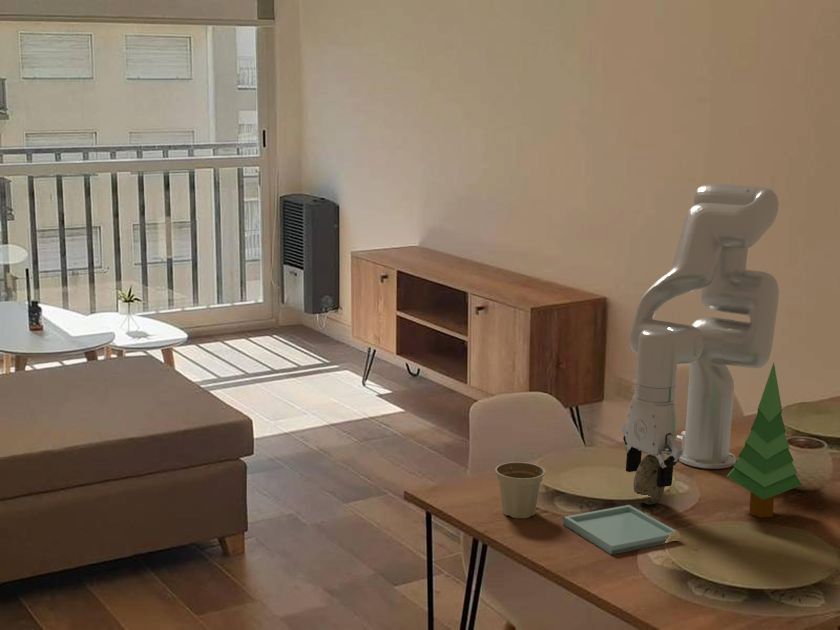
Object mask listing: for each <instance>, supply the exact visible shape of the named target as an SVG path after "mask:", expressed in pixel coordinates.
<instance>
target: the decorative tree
mask: <svg viewBox="0 0 840 630" xmlns="http://www.w3.org/2000/svg"><path fill="white" fill-rule="evenodd" d="M775 366H776V365H775V362H773V364H772V366H771V368H770V372H769V375H768V378H767V380H766V383H765V387H764V389H763V392H762V395H761V398H760V401H759V404H758V407H757V412H756V413H757V414H756V417H755V419H754V421H753V423H752V425H751V427H750V432H749V434H748V436H747V438H746V439H745V441H744V446H743V448H742V450H741V451H740V453H739V454H738V459H737V460H736V462H735V464H734V465H733V466H732V470H730V472H729V473H728V474H727V475H726V477H727V478H728V479H730V480H731V481H733V482H734V483H736V484H738V485H740V486H741V487H742V488H744V489H745V490H748V491H749V492H750V499H749V509H748V511H749V513H748V514H749V515H751V516H754V517H758V518H770V517H771V518H772V517H773V516H774V515H773V514H774V507H775V505H774V503H775V496H777V495H779V494H783V493H785V492H789V491H790V490H793V489H796V488H798V487H800V486H803V485H802V482H801V481H800V480H799V477H798V476H797V474H799V473H798V471H797V469H796V467H795V465H794V463H793V462H794V458H793V456H792V453H791V451H790V449H789V448H790V444H789V442H788V438H787V436H786V426H785V423H784V419H783V416H782V413H783V407H782V406H783V405H782V400H781V396H780V391H779V383H778V378H777V372H776V367H775Z"/></svg>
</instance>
